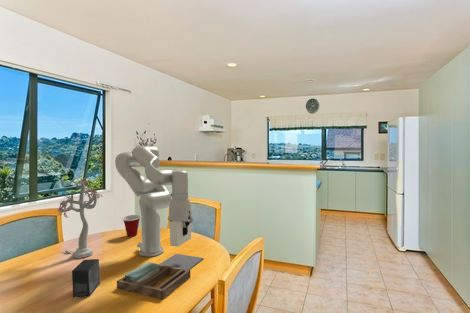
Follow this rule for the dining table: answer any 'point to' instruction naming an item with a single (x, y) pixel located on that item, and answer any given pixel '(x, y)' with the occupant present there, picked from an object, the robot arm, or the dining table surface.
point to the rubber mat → (182, 261)
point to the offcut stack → (143, 273)
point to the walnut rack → (162, 289)
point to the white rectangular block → (178, 233)
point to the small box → (85, 278)
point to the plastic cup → (131, 224)
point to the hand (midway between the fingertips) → (180, 234)
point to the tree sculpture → (83, 249)
